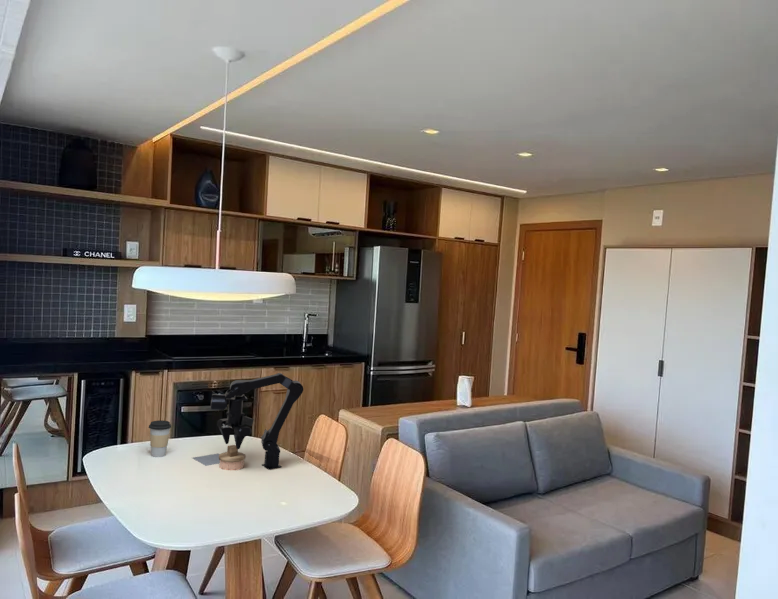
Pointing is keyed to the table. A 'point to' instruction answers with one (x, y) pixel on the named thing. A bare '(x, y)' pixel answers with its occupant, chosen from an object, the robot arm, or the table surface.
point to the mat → (208, 459)
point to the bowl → (231, 465)
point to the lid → (232, 455)
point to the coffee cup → (159, 437)
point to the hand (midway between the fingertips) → (232, 446)
